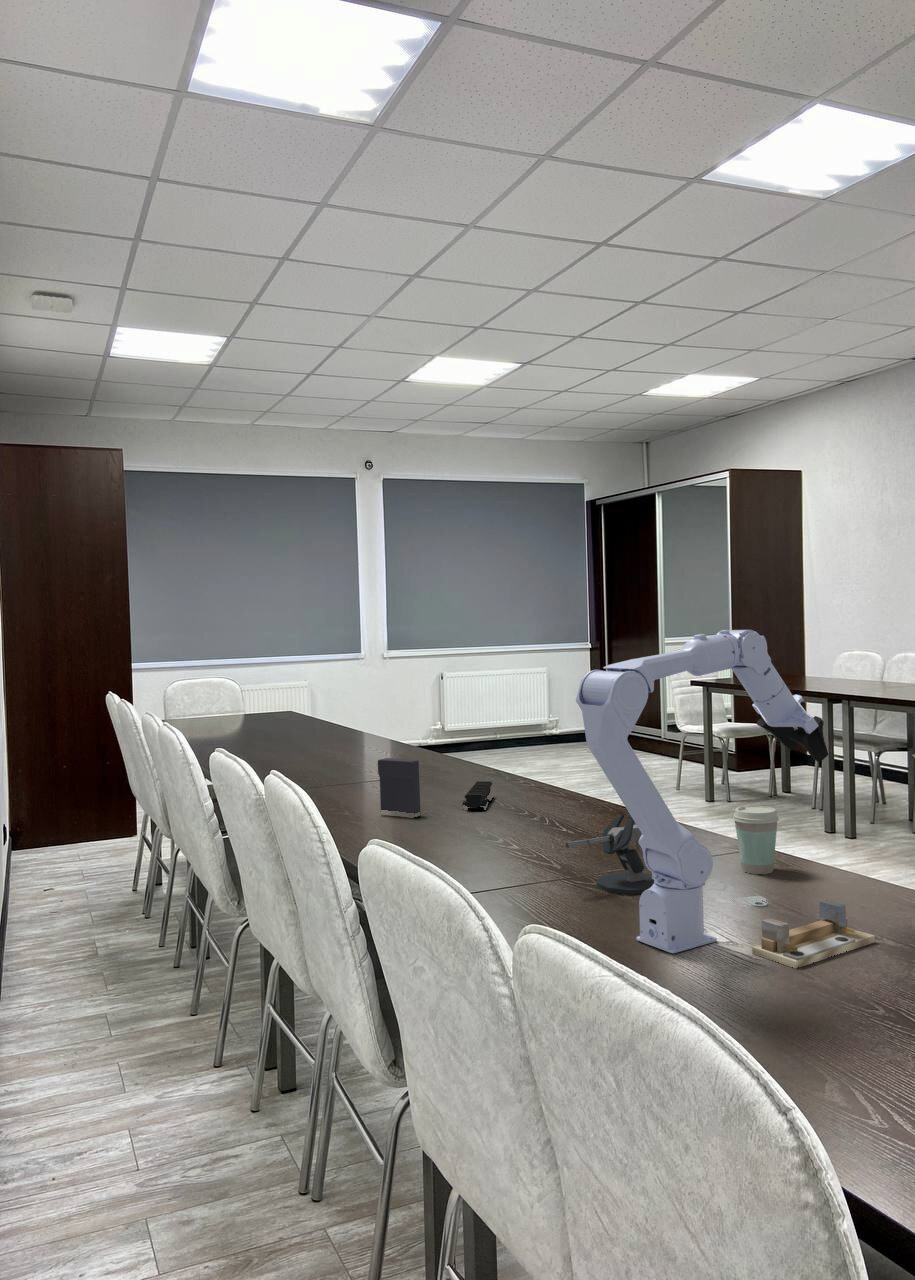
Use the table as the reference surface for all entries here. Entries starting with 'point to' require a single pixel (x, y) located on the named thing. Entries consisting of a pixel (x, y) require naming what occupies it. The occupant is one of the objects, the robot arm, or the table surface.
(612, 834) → the gun turret
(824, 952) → the jig
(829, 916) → the sliding head
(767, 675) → the robot arm
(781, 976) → the table surface
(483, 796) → the rail mount
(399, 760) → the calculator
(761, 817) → the coffee cup
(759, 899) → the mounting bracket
